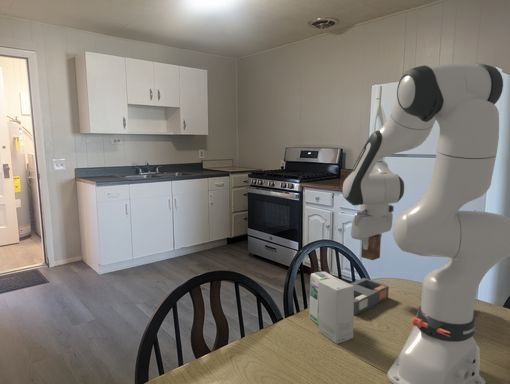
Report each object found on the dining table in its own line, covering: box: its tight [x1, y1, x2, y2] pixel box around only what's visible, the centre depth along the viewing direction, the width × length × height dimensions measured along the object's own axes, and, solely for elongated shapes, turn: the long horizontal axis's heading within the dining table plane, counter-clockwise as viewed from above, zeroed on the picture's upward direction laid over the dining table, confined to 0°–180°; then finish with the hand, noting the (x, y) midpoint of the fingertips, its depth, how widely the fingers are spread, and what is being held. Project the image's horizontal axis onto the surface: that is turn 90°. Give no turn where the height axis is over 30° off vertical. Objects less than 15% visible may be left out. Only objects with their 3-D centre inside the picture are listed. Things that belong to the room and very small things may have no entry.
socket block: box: [349, 277, 390, 317], centre depth 122 cm, size 20×10×5 cm, turn 130°
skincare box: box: [318, 276, 355, 345], centre depth 100 cm, size 8×7×16 cm
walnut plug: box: [360, 235, 382, 261], centre depth 124 cm, size 4×4×8 cm
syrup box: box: [308, 271, 334, 326], centre depth 109 cm, size 6×6×14 cm
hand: (371, 247), depth 124 cm, fingers closed on walnut plug, 4 cm apart
